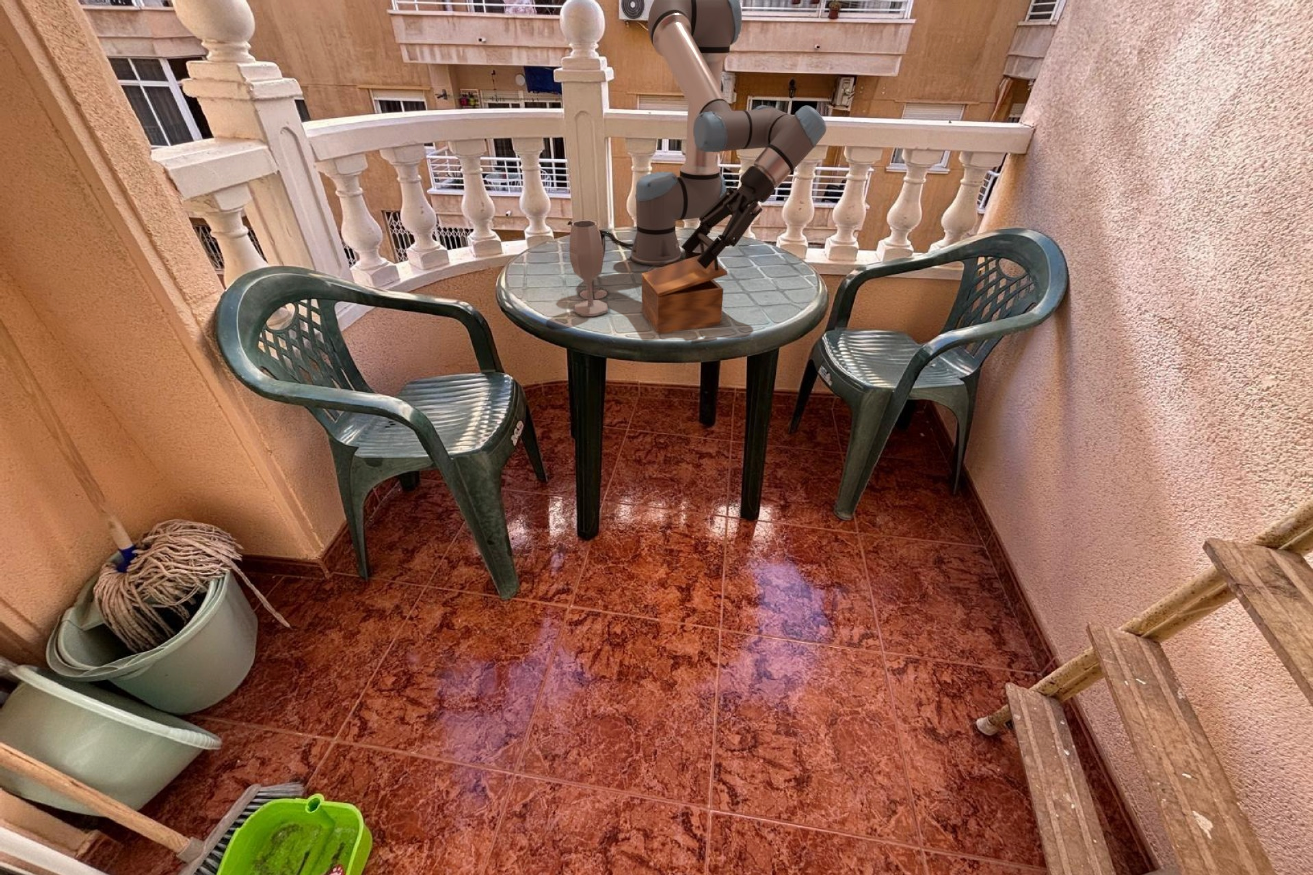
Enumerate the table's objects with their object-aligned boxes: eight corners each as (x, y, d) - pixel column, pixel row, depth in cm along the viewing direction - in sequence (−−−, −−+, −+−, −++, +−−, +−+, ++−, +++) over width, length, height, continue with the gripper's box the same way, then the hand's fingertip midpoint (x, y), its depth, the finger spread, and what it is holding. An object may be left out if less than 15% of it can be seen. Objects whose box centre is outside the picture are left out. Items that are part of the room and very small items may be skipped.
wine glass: (584, 302, 137) (579, 243, 128) (574, 291, 143) (568, 234, 134) (613, 296, 140) (610, 238, 131) (601, 286, 146) (597, 230, 137)
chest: (700, 303, 137) (702, 269, 131) (720, 324, 127) (723, 288, 122) (642, 311, 133) (641, 277, 127) (658, 333, 123) (658, 297, 118)
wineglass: (579, 320, 129) (571, 231, 116) (569, 306, 135) (560, 220, 122) (613, 313, 132) (608, 226, 119) (601, 300, 138) (596, 216, 125)
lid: (705, 256, 129) (702, 227, 125) (727, 274, 120) (724, 244, 115) (641, 276, 127) (635, 248, 123) (658, 297, 118) (652, 266, 113)
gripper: (798, 201, 110) (722, 284, 116) (751, 178, 126) (686, 252, 132) (779, 175, 105) (700, 263, 111) (732, 155, 122) (666, 233, 128)
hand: (693, 257), depth 122 cm, fingers closed on lid, 9 cm apart
